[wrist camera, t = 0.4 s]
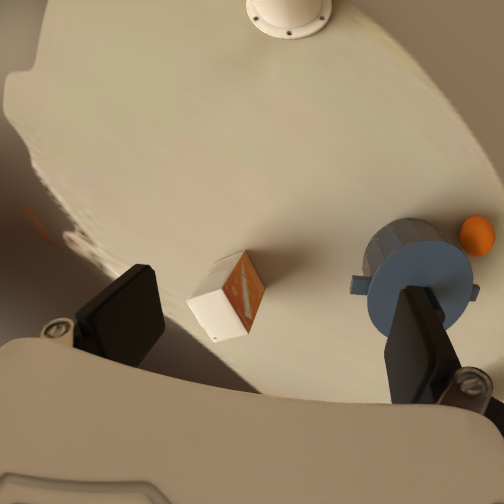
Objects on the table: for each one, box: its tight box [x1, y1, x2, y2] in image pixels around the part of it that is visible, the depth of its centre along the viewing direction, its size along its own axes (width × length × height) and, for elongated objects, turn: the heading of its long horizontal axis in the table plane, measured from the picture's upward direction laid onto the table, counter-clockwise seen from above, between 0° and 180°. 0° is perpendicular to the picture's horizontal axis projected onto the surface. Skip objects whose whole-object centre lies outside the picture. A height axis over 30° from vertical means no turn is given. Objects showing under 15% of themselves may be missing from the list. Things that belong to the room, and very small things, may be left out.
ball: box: [460, 216, 495, 257], centre depth 36 cm, size 6×6×6 cm
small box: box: [186, 251, 265, 343], centre depth 46 cm, size 8×6×13 cm
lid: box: [367, 239, 473, 337], centre depth 33 cm, size 16×16×7 cm
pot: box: [350, 218, 480, 301], centre depth 40 cm, size 15×21×10 cm
